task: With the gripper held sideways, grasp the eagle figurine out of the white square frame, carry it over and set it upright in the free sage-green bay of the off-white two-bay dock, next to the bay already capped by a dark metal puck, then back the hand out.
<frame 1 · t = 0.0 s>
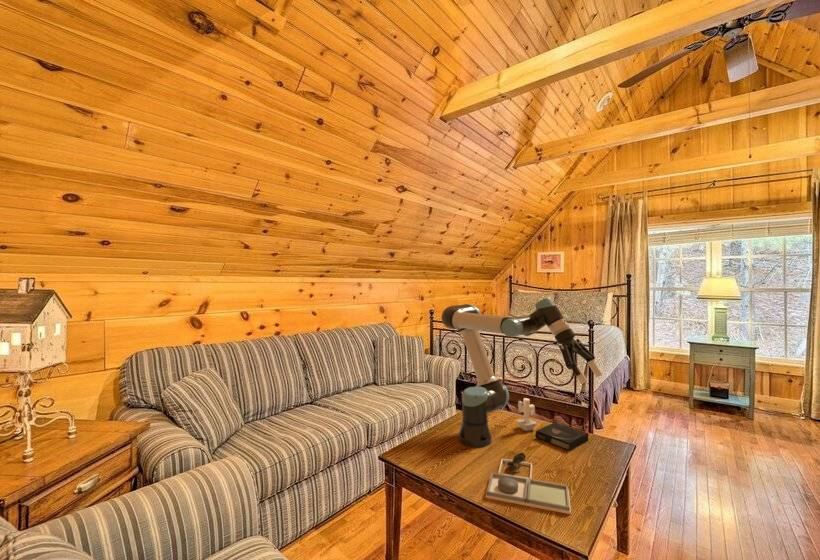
hand: (592, 379, 150), 36 cm above the table, tool tilted 35°, fingers open, 13 cm apart
white square frame: (515, 470, 150), on the table
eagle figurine: (515, 471, 151), on the table
dock: (527, 494, 135), on the table
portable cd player: (561, 440, 177), on the table
figurine: (526, 429, 189), on the table
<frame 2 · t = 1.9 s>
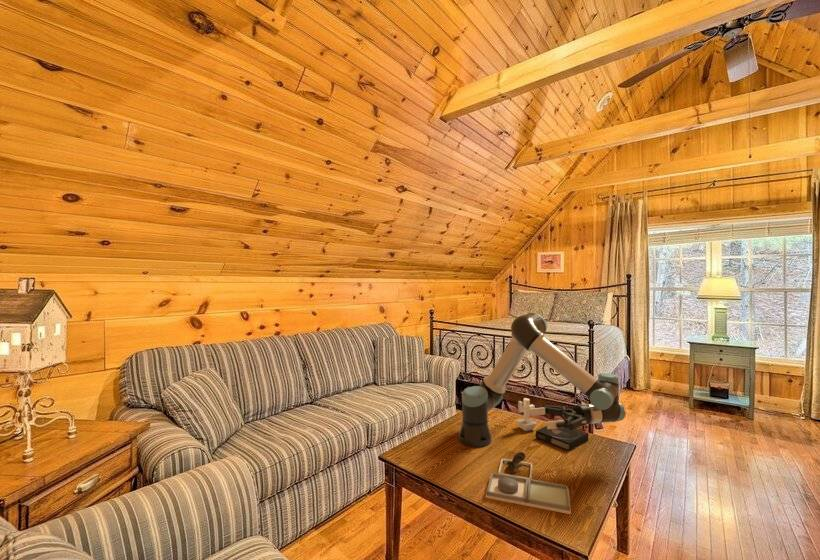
hand: (538, 418, 151), 20 cm above the table, tool horizontal, fingers open, 13 cm apart
nothing on the table moved.
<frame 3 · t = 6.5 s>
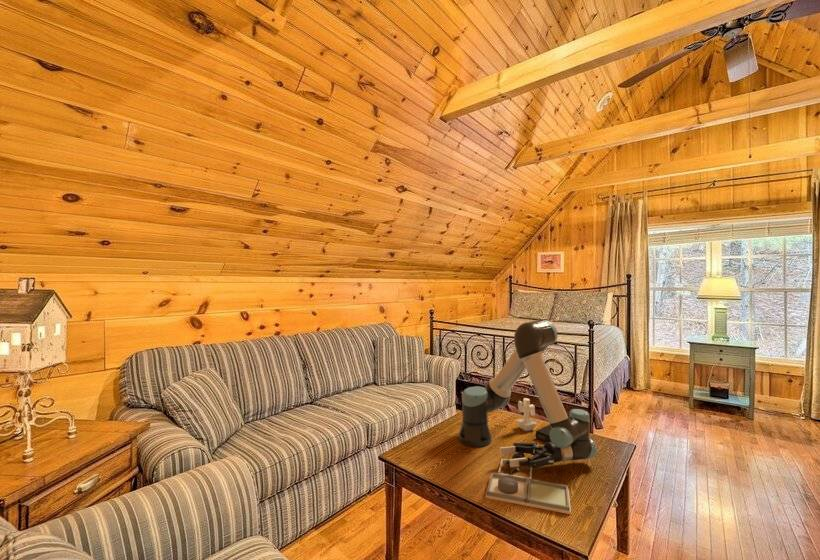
hand: (504, 457, 149), 6 cm above the table, tool horizontal, fingers open, 9 cm apart
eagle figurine: (514, 470, 151), on the table, touching gripper, white square frame
everything else where it was.
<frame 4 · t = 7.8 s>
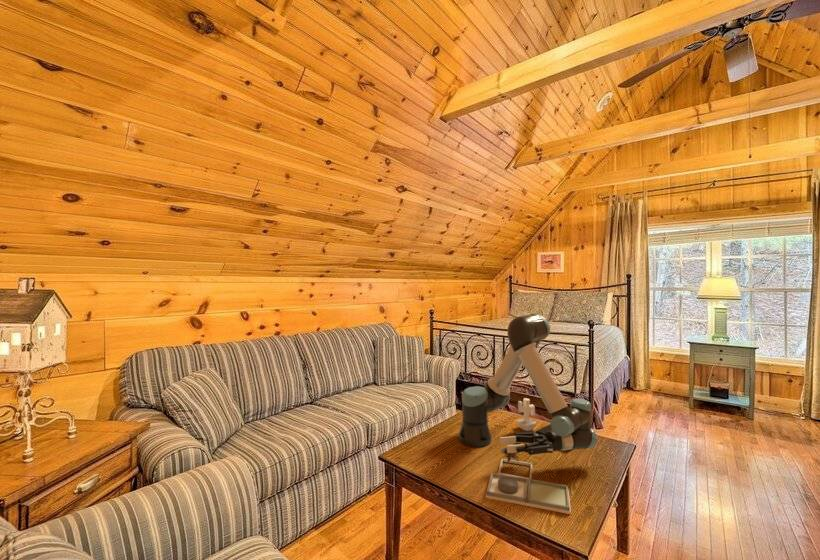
hand: (504, 445, 149), 11 cm above the table, tool horizontal, fingers closed on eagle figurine, 6 cm apart
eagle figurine: (513, 460, 151), point 3 cm above the table, touching gripper
everything else where it was.
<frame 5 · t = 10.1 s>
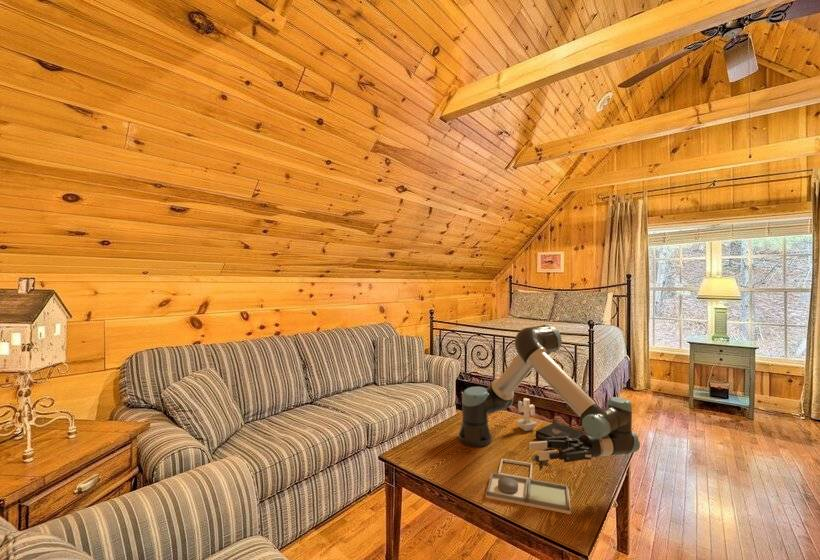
hand: (534, 451, 131), 17 cm above the table, tool horizontal, fingers closed on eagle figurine, 6 cm apart
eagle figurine: (545, 469, 133), point 10 cm above the table, touching gripper
everything else where it was.
when the fingers open (9 cm above the table, at t = 12.3 s): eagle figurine stays where it is, resting on dock.
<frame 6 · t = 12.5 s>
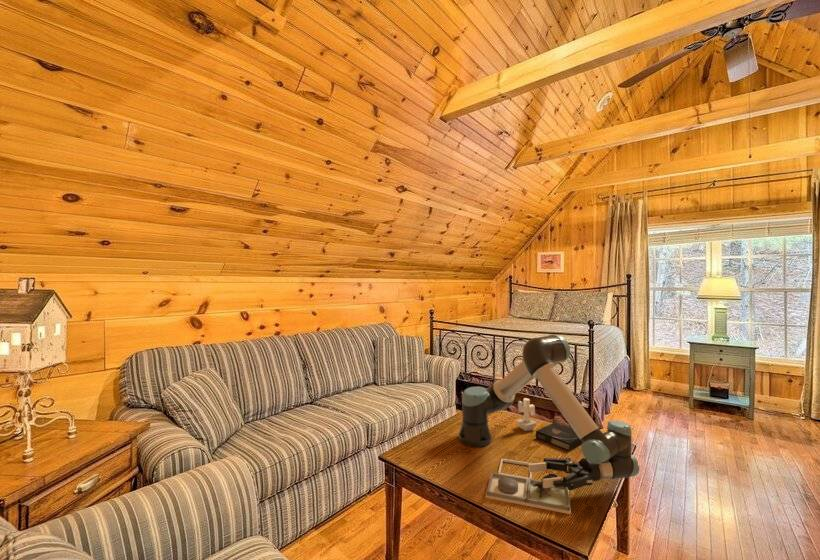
hand: (536, 475, 131), 9 cm above the table, tool horizontal, fingers open, 9 cm apart
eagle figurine: (545, 493, 133), point 1 cm above the table, touching dock
everything else where it was.
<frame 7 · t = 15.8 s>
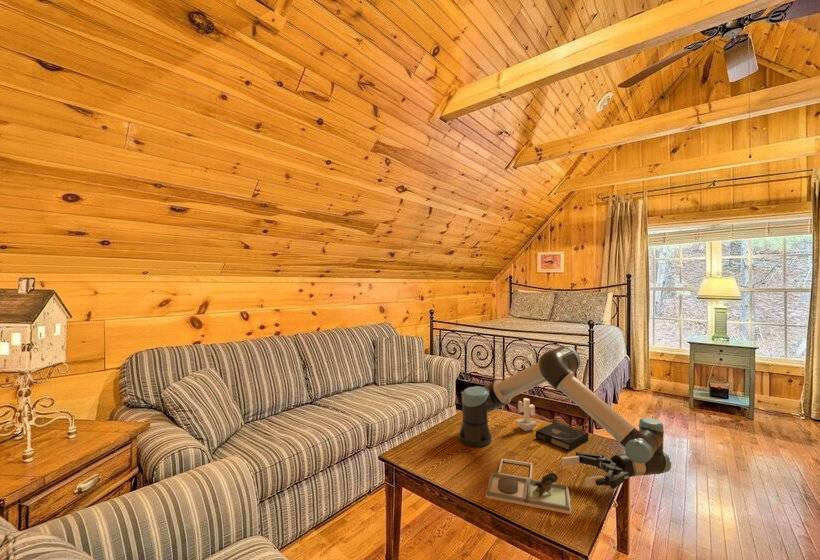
hand: (573, 471, 134), 9 cm above the table, tool horizontal, fingers open, 13 cm apart
nothing on the table moved.
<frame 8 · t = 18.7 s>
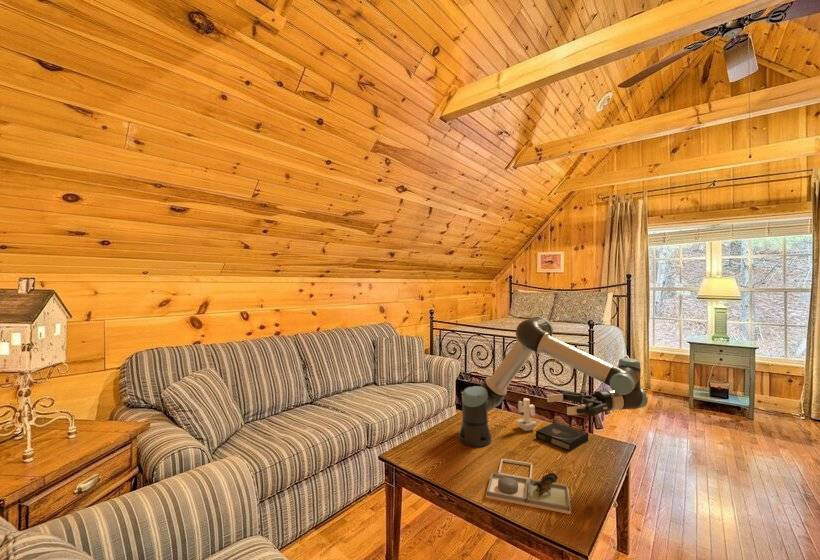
hand: (556, 404, 145), 28 cm above the table, tool horizontal, fingers open, 13 cm apart
nothing on the table moved.
at the end: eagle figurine inside the target area on the dock (1.6 cm from its centre), point 1.0 cm above the dock's base; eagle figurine tilted 0°; the gripper is holding nothing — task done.
